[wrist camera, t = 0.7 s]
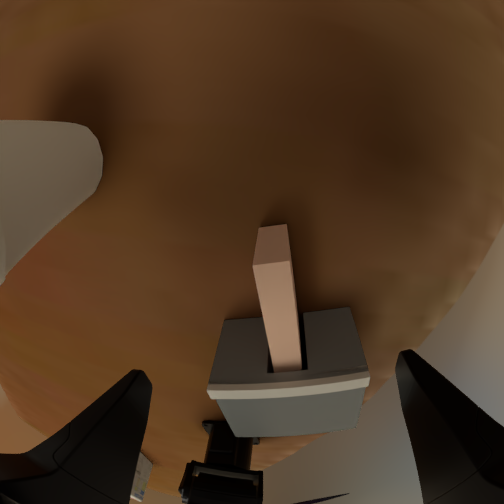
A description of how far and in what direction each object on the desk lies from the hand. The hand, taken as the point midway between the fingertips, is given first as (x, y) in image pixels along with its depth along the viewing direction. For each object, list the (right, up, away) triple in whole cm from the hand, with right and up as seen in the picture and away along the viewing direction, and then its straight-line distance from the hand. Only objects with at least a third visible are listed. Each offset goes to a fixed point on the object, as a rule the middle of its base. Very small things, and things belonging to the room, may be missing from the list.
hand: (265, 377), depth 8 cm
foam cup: (-14, +11, +9) cm, 20 cm away
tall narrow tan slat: (+2, +1, +11) cm, 12 cm away
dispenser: (+3, -4, +15) cm, 15 cm away
